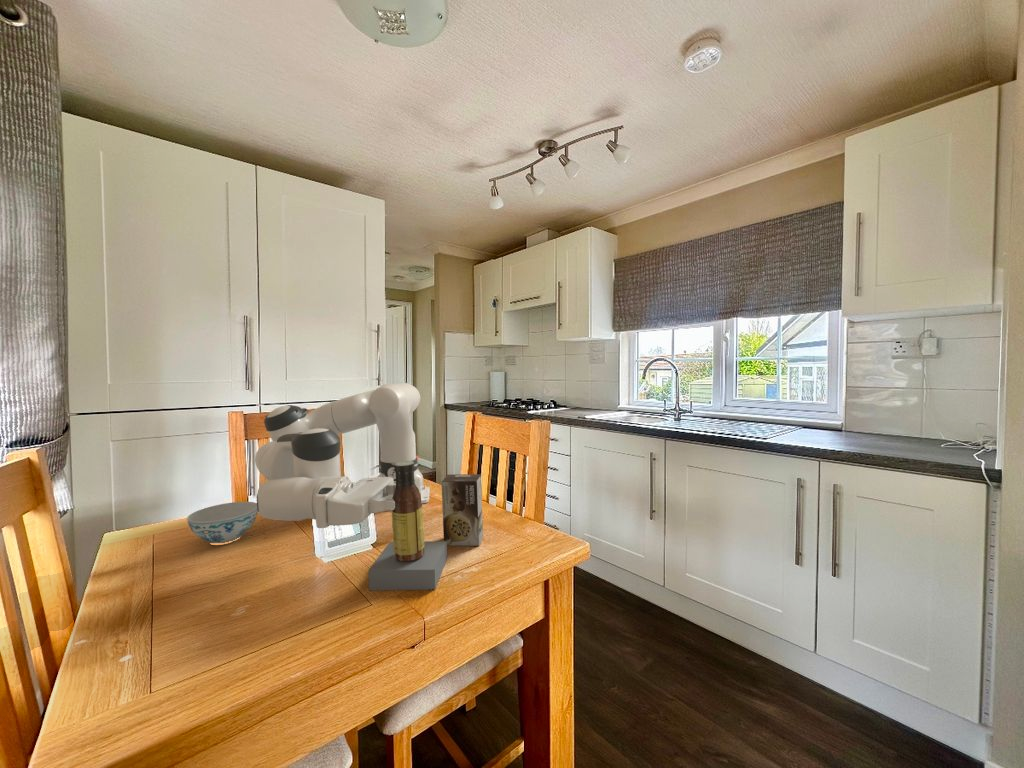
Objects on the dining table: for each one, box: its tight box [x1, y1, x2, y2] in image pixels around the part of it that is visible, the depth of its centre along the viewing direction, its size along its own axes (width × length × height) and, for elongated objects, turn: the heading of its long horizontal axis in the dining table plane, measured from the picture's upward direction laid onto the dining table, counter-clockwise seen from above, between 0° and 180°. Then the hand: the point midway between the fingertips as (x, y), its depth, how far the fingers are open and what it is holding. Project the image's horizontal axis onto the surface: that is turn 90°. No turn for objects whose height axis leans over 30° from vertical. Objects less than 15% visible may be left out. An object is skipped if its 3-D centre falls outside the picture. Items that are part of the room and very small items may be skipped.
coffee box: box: [440, 473, 484, 547], centre depth 101 cm, size 9×6×16 cm
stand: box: [368, 540, 448, 591], centre depth 85 cm, size 13×13×4 cm
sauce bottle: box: [391, 461, 425, 562], centre depth 84 cm, size 7×6×20 cm
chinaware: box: [186, 501, 259, 543], centre depth 104 cm, size 15×15×8 cm
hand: (402, 497), depth 84 cm, fingers open, 8 cm apart
